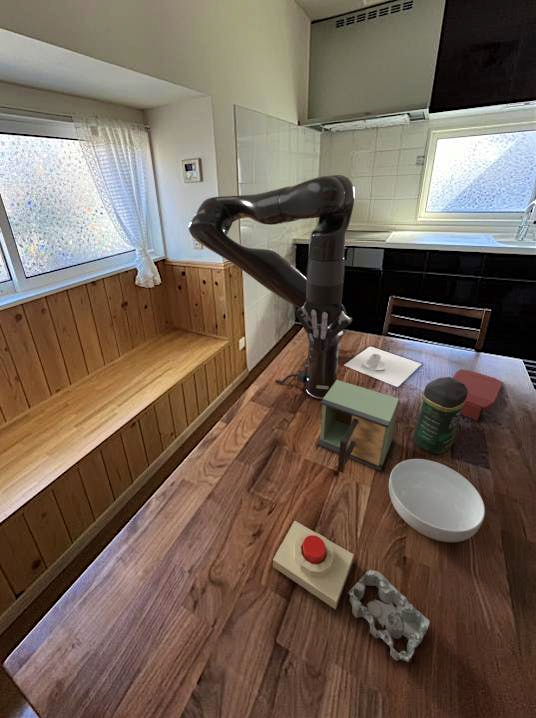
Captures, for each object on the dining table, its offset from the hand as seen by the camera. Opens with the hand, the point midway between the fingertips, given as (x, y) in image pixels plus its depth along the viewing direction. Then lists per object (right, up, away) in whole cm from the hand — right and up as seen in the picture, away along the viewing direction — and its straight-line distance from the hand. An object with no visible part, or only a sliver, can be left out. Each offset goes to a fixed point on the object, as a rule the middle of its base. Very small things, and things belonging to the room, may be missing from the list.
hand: (320, 351), depth 77 cm
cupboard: (+13, -25, +13) cm, 31 cm away
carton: (+55, -17, +28) cm, 64 cm away
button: (-5, -35, -16) cm, 39 cm away
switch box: (-5, -38, -15) cm, 41 cm away
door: (+9, -29, +3) cm, 31 cm away
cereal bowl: (+21, -34, -7) cm, 40 cm away
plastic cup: (+16, -8, +53) cm, 56 cm away
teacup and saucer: (+35, -10, +47) cm, 59 cm away
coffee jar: (+32, -25, +11) cm, 43 cm away
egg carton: (+5, -42, -23) cm, 48 cm away
